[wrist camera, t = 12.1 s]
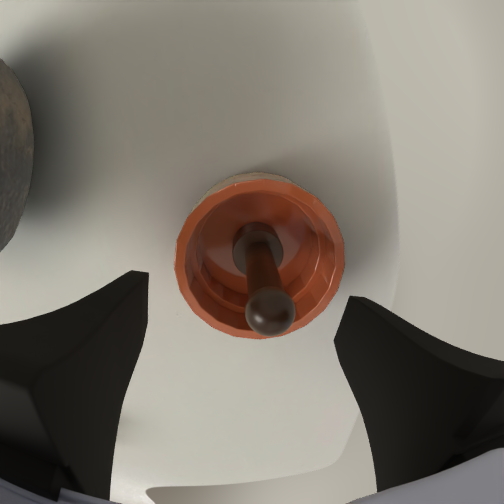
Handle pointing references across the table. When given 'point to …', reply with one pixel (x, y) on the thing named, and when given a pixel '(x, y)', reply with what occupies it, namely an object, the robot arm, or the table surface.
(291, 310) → the dark brown pestle
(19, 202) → the grey flower pot
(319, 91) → the table surface
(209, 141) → the table surface
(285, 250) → the mixing bowl
